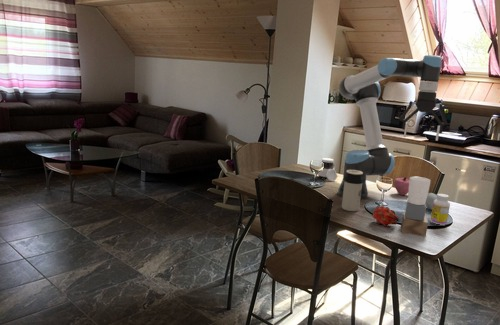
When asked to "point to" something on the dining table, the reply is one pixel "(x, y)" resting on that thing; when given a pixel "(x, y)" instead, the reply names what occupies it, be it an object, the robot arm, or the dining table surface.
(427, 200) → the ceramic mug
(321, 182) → the dining table surface
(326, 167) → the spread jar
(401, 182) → the apple
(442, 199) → the supplement bottle
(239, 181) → the dining table surface
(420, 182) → the white cup
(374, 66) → the robot arm
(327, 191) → the dining table surface
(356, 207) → the travel mug
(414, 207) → the gray block
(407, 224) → the walnut base block
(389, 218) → the dragon fruit
